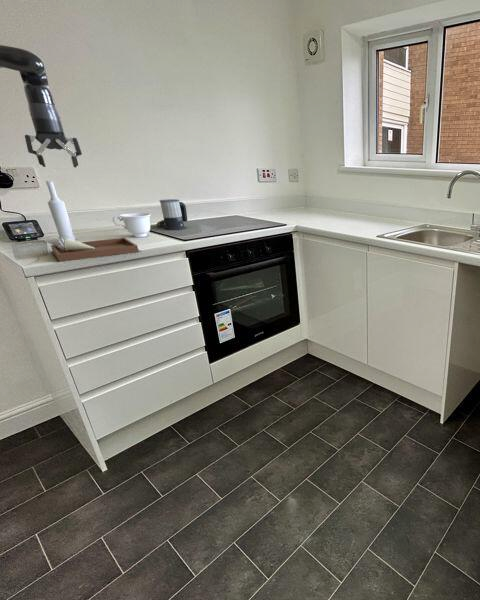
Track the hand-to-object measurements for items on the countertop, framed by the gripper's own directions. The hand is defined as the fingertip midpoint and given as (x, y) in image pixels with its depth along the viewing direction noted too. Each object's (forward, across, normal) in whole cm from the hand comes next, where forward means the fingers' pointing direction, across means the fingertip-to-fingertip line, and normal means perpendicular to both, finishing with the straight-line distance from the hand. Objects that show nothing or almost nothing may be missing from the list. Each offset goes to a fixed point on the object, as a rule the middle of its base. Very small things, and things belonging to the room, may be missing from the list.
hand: (60, 167), depth 130 cm
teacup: (+31, -22, -18) cm, 42 cm away
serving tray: (+31, -3, +7) cm, 32 cm away
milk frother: (+31, -40, -34) cm, 61 cm away
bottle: (+31, +2, -24) cm, 39 cm away
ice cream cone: (+30, -3, +7) cm, 31 cm away
